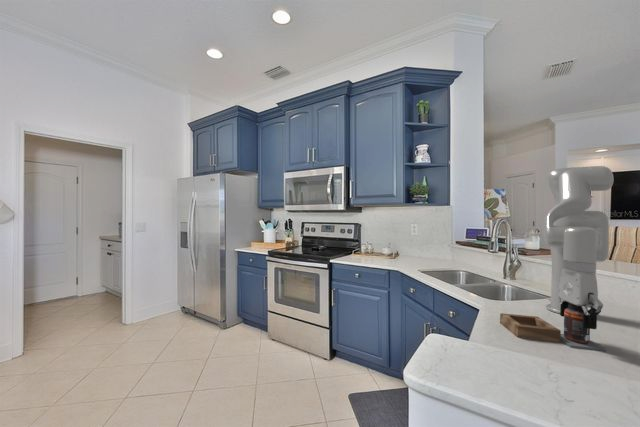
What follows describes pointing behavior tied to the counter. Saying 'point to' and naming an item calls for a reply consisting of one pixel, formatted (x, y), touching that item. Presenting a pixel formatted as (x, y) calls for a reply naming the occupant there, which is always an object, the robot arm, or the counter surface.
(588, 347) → the slate coaster
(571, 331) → the supplement bottle
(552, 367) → the counter surface
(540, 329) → the pocket frame
